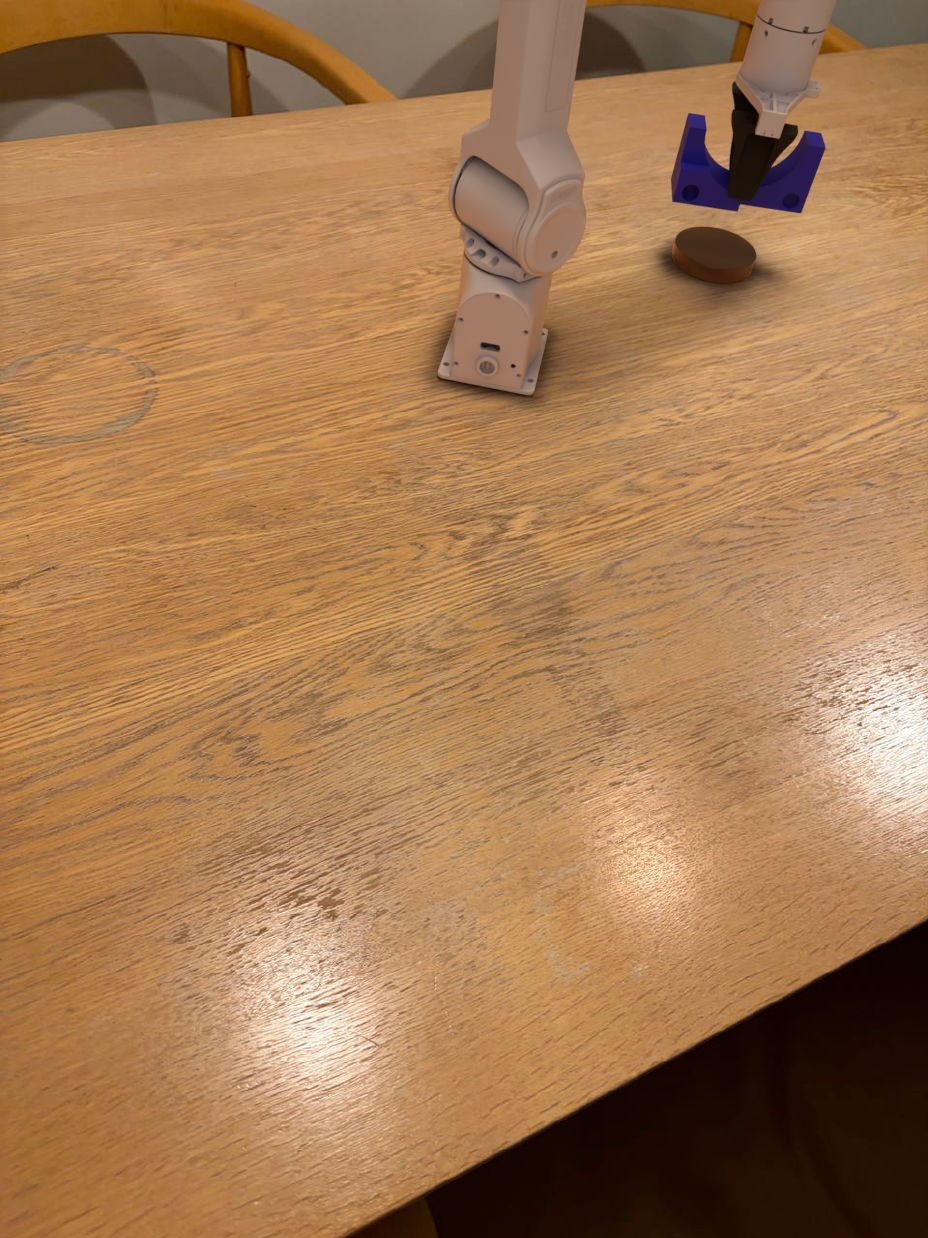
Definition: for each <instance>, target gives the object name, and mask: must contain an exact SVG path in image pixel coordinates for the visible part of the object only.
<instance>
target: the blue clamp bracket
mask: <svg viewBox="0 0 928 1238" xmlns="http://www.w3.org/2000/svg"><path fill="white" fill-rule="evenodd" d="M707 129H708V128H707V121H706V115H705V114H700V113H699V114H698V113H692V112H688V113H687V116H686V119H685V124H684V128H683V132H682V134H681V139H680V143H679V147H678V151H677V153H676V158H675V162H674V166H673V169H672V173H671V177H670V186H671V187H670V189H671V201H672V203H677V204H683V205H689V206H697V207H704V208H711V209H717V210H724V211H729V212H730V211H731V212H737V213H738V212H739V209H740V206H741V205H742V206H748V207H755V208H762V209H769V210H774V211H780V212H789V213H794V214H802V212H803V210H804V207H805V204H806V201H807V199H808V197H809V194H810V191H811V188H812V186H813V183H814V180H815V178H816V175H817V173H818V170H819V167H820V164H821V162H822V159H823V158H824V157H823V156H824V154H825V151H826V149H827V148H826V143H825V140H824V136H823V134H822V132H818V131H812V130H804V131H803V133H802V136H801V138H800V140H799V141H798V143H797V145H796V146H795V147H794V149H793V150H792V151H791V152H790V153H789V154H788V155H787V156H786V157H785V158H784V159H782V160H781V161H780V162H779V163H777V164H775V165H772V167H771V168H770V170H769V172H768V173H767V175H766V177H765V179H764V180H763V182H762V184H761V186H760V188H759V189H758V191H757V193H756V194H755V196H754V197H753V199H752V200H751V201H750V202H749V201H744V200H738V199H733V198H729V197H728V190H729V178H730V172H731V171H730V170H729V168H726V167H724V166H723V165H721V164H719V163H718V162H717V161H716V160H715V159H714V157H712V155H711V154H710V152H709V150H708V148H707V146H706V143H705V142H706V135H707Z"/></svg>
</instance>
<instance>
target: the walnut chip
mask: <svg viewBox="0 0 928 1238" xmlns="http://www.w3.org/2000/svg"><path fill="white" fill-rule="evenodd" d="M670 254H671V255H670V256H671V259H672V261H673V263H674V264H675V266H676V267H677V268H678V269H680V270H681V271H682V272H684V273H685V274H687V275H689V276H691V277H693V278H696V279H698V280H701V281H703V282H708V283H715V284H734V283H739V282H742V281H744V280H746V279H747V278H749V276H750V275H751V274H752V271H753V268H754V266H755V262H756V259H757V252H756V248H755V247H754V246H753V245H752V244H751V242H749V240H747V239H746V238H744V237H743V236H741V235H739V234H737V233H735V232H733V231H730V230H727V229H723V228H719V227H714V226H705V225H704V226H701V225H700V226H691V227H687V228H684V229H682V230H681V231H679V232H678V233H677V234H676V235H675V238H674V242H673V245H672V249H671V253H670Z"/></svg>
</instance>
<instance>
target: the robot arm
mask: <svg viewBox="0 0 928 1238" xmlns="http://www.w3.org/2000/svg"><path fill="white" fill-rule="evenodd" d="M837 1H838V0H760V1H759V5H758V8H757V13H756V15H755V19H754V23H753V26H752V28H751V29H752V30H751V32H750V36H749V40H748V42H747V45H746V46H747V47H746V50H745V53H744V56H743V60H742V64H741V66H740V67H739V68H738V69H737V73H736V75H735V79H734V81H733V82H732V85H731V93H732V100H733V107H734V109H732V111H731V117H730V122H731V130H732V137H731V143H730V150H729V161H728V170H730V171H731V172H730V178H729V190H728V197H729V198H733V199H738V200H744V201H749V202H750V201H751V200H752V199H753V197H754V196H755V194H756V193H757V191H758V189H759V188H760V186H761V184H762V182H763V180H764V179H765V177H766V175H767V173H768V172H769V170H770V168H771V167H773V166H774V164H775V163H776V161H777V160H778V159H779V157H780V156H781V154H783V153H784V152H785V150H787V148H789V147H790V146H791V145H792V144H793V143H794V141H795V140H796V138H797V137H798V134H799V126H798V124H791V123H786V122H787V117H788V116H789V114H791V112H793V110H794V109H796V108H797V106H799V104H800V103H801V102H802V101H803V100H804V99H806V98H807V99H808V98H810V99H818V98H819V97H820V94H821V91H822V86H821V82H818V81H816V80H812V79H811V76H812V73H813V70H814V68H815V64H816V62H817V59H818V56H819V52H820V50H821V47H822V44H823V42H824V38H825V35H826V32H827V29H828V27H829V24H830V21H831V18H832V15H833V12H834V10H835V7H836V3H837ZM587 2H588V0H499V11H498V22H497V33H496V43H495V44H496V46H495V47H496V48H495V57H494V59H495V60H494V67H493V68H494V69H493V79H492V90H491V91H492V92H491V101H490V102H491V103H490V113H489V118H488V119H485V120H483V121H481V122H480V123H478V124H476V125H475V126H473V127H472V128H470V129H469V130H468V131H467V132H465V133H464V134H463V135H462V136H461V144H460V153H459V158H458V160H457V164H456V167H455V169H454V172H453V174H452V176H451V180H450V182H449V187H448V195H447V202H448V203H447V204H448V208H449V211H450V213H451V215H452V216H453V218H454V219H455V220H456V221H457V222H459V223H460V228H459V235H458V236H459V239H460V240H461V241H462V243H463V251H462V261H461V269H460V279H459V288H458V298H457V306H456V307H457V308H456V314H455V321H454V324H453V326H452V329H451V333H450V334H449V337H448V341H447V343H446V347H445V349H444V352H443V355H442V357H441V361H440V363H439V366H438V369H437V376H438V377H439V378H440V379H444V380H449V381H453V382H457V383H458V382H459V383H464V384H469V385H474V386H478V387H484V388H489V389H494V390H499V391H504V392H509V393H515V394H519V395H524V396H532V395H534V394H535V391H536V386H537V382H538V378H539V374H540V370H541V365H542V361H543V356H544V352H545V348H546V344H547V339H548V335H549V330H548V329H547V328H546V327H544V325H545V319H546V313H547V309H548V303H549V298H550V291H551V287H552V280H553V276H554V273H555V272H556V271H558V270H560V269H562V267H563V266H564V265H566V263H568V262H569V260H570V259H571V258H572V257H573V256H574V254H575V253H576V252H577V250H578V249H579V246H580V244H581V242H582V239H583V236H584V233H585V230H586V225H587V210H586V206H585V202H584V196H583V194H584V193H583V191H584V185H585V178H586V175H585V174H586V173H585V169H584V167H583V165H582V163H581V161H580V158H579V156H578V154H577V151H576V150H575V146H574V145H573V142H572V140H571V138H570V135H569V131H568V128H569V122H570V116H571V115H570V114H571V109H572V100H573V94H574V87H575V82H576V74H577V67H578V62H579V54H580V49H581V41H582V33H583V27H584V21H585V14H586V8H587Z"/></svg>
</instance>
